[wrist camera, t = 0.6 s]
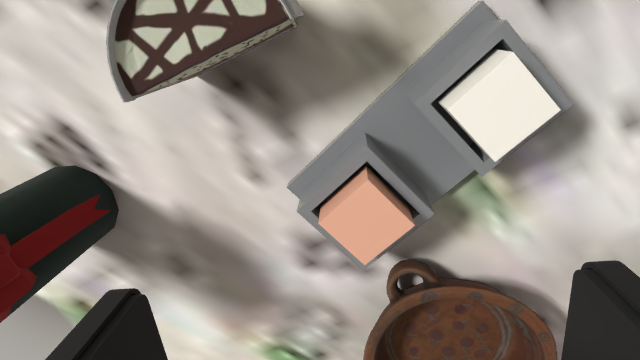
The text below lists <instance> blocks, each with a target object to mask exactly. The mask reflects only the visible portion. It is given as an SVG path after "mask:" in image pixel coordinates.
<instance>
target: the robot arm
mask: <svg viewBox="0 0 640 360" xmlns="http://www.w3.org/2000/svg"><path fill="white" fill-rule="evenodd" d="M45 360H168V359H167V356H166V353H165V350H164V347H163V344H162V341H161V338H160V335H159V332H158V329H157V325H156V322H155V319H154V316H153V313H152V310H151V307H150V304H149V301H148V299H147V297H146V296H145V295H143V294H141V293H140V291H139V290H138V289H134V288H133V289H116V290H110V291H108V292H107V293H105V294H104V296H103V297H102V298H101V299H100V300H99V301H98V302H97V303H96V304H95V305H94V307H93V308H92V309H91V310H90V311H89V312H88V313H87V314H86V315H85V317H84V318H83V319H82V320H81V321H80V322H79V323H78V324H77V325H76V326H75V328H74V329H73V330H72V331H71V332H70V333H69V334H68V335H67V336H66V337H65V339H64V340H63V341H62V342H61V343H60V344H59V345H58V347H56V348H55V350H54V351H53V352H52V353H51V354H50V355H49V356H48V357H47V358H46V359H45ZM561 360H640V278H639V277H638V276H637V275H636V274H635V273H634V272H632V271H631V270H630V269H629V268H628V267H627V266H625V265H624V264H623V263H621V262H620V261H599V262H587V263H584V264H583V266H582V268H581V270H577V271H575V273H574V276H573V281H572V288H571V295H570V303H569V310H568V317H567V324H566V331H565V338H564V345H563V352H562V359H561Z"/></svg>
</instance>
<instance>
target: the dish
mask: <svg viewBox="0 0 640 360" xmlns="http://www.w3.org/2000/svg"><path fill="white" fill-rule="evenodd" d="M409 273H411V274H416V275H418V276H420V277H421V278H422V279H423V283H421V284H418V285H416V286H413V287H411V288H408V289H406V290H401V289H400V288H399V287H398V286H397V282H398V278H400V277H401V276H402V275H405V274H409ZM387 294H388V297H389V300H390V304H389V305H388V306H387V307H386V308H385V310H384V311H383V313H382V314H381V316H380V317H379V319H378V321H377V323H376V325H375V326H374V328H373V330H372V331H371V333H370V335H369V337H368V341H367V343H366V346H365V351H364V358H363V360H557V352H556V344H555V340H554V337H553V335H552V333H551V331H550V329H549V328H548V326H547V325H546V324H545V322H544V321H543V320H542V319H541V318H540V317H539V316H538V315H537V314H536V313H535V312H534V311H532V310H531V309H529V308H528V307H527V306H525V305H524V304H522V303H521V302H519V301H517V300H515V299H514V298H511V297H509V296H506V295H504V294H503V293H501V292H499V291H498V290H496V289H494V288H491V287H489V286H486V285H483V284H480V283H476V282H471V281H466V280H457V279H443V278H441V277H439V276H438V275H437V274H436V273H435V272H434V271H433V270H432V269H431V268H430V267H429V266H427V265H426V264H424V263H423V262H420V261H417V260H403V261H400V262H398V263H397V264H396V265H394V267H393V268H392V269H391V271H390V273H389V276H388V281H387Z"/></svg>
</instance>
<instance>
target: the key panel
mask: <svg viewBox="0 0 640 360" xmlns="http://www.w3.org/2000/svg"><path fill="white" fill-rule="evenodd" d="M495 49H497V50H504V51H511V52H514V53H515V55H516V56H517V57H518V58H519V60H520V61H521V62H522V63H523V64H524V66H525V67H526V68H527V69H528V70H529V72H530V73H531V74H532V75H533V77H534V78H535V79H536V80H537V81H538V83H539V84H540V85H541V86H542V88H543V89H544V90H545V91H546V92H547V94H548V95H549V96H550V97H551V99H552V100H553V101H554V102H555V103H556V105H557V106H558V107H559V108H560V109H561V110H560V111H559V112H558V113H557V114H555V115H554V116H553V117H551V118H550V119H549V120H548V121H546V122H545V123H544V124H543V125H541V126H540V127H539V128H538V129H536V130H535V131H534V132H533V133H531V134H530V135H529V136H527V137H526V138H525V139H524V140H522V141H521V142H520V143H519V144H517V145H516V146H515V147H514V148H512V149H511V150H510V151H509V152H507V153H506V154H505V155H504V156H502V157H501V158H500V159H498V160H497V161H496V162H494V161H493V160H492V159H491V158H490V157H489V156H488V155H487V154H486V153H485V152H483V151H482V150H481V149H480V148H479V147H478V145H477V144H476V143H475V142H474V141H473V140H472V139H471V138H470V137H469V136H468V134H467V133H466V132H465V131H464V130H463V129H462V128H461V127H460V126H459V125H458V123H457V122H456V121H455V120H454V119H453V118H452V117H451V116H450V115H449V114H448V113H447V111H446V110H445V109H444V108H443V107H442V106H441V105H440V104H439V103H438V102H437V101H439V100H440V99H441V98H442V97H443V96H444V95H445V94H446V93H447V92H449V91H450V90H451V89H452V88H453V87H454V86H455V85H456V84H457V83H459V82H460V81H461V80H462V79H463V78H464V77H465V76H466V75H467V74H469V73H470V72H471V71H472V70H473V69H474V68H475V67H476V66H477V65H479V64H480V63H481V62H482V61H483V60H484V59H485V58H486V57H488V56H489V55H490V54H491V53H492V52H493V51H494V50H495ZM572 105H574V104H573V102H572V101H571V100H570V99H569V97H568V96H567V95H566V94H565V92H564V91H563V90H562V89H561V87H560V86H559V85H558V84H557V83H556V81H555V80H554V79H553V78H552V76H551V75H550V74H549V73H548V71H547V70H546V69H545V68H544V66H543V65H542V64H541V63H540V61H539V60H538V59H537V58H536V56H535V55H534V54H533V53H532V52H531V50H530V49H529V48H528V47H527V45H526V44H525V43H524V42H523V40H522V39H521V38H520V37H519V35H518V34H517V33H516V32H515V30H514V29H513V28H512V27H511V26H510V24H509V23H508V22H507V21H506V20H498V19H497V18H496V16H495V15H494V14H493V13H492V11H491V10H490V9H489V8H488V6H487V5H486V4H485V3H484V2H483V1H478V2H477V3H476V4H475V5H474V6H473V7H472V8H471V9H470V10H469V11H468V12H467V13H466V14H465V15H464V16H463V17H461V18H460V19H459V20H458V21H457V22H456V23H455V24H454V25H453V26H452V27H451V28H450V29H449V30H448V31H447V32H446V33H445V34H444V35H443V36H442V37H441V38H440V39H438V40H437V41H436V42H435V43H434V44H433V45H432V46H431V47H430V48H429V49H428V50H427V51H426V52H425V53H424V54H423V55H422V56H421V57H420V58H419V59H418V60H417V61H416V62H414V63H413V64H412V65H411V66H410V67H409V68H408V69H407V70H406V71H405V72H404V73H403V74H402V75H401V76H400V77H399V78H398V79H397V80H396V81H395V82H394V83H393V84H392V85H390V86H389V87H388V88H387V89H386V90H385V91H384V92H383V93H382V94H381V95H380V96H379V97H378V98H377V99H376V100H375V101H374V102H373V103H372V104H371V105H370V106H369V107H368V108H366V109H365V110H364V111H363V112H362V113H361V114H360V115H359V116H358V117H357V118H356V119H355V120H354V121H353V122H352V123H351V124H350V125H349V126H348V127H347V128H346V129H345V130H344V131H342V132H341V133H340V134H339V135H338V136H337V137H336V138H335V139H334V140H333V141H332V142H331V143H330V144H329V145H328V146H327V147H326V148H325V149H324V150H323V151H322V152H321V153H320V154H318V155H317V156H316V157H315V158H314V159H313V160H312V161H311V162H310V163H309V164H308V165H307V166H306V167H305V168H304V169H303V170H302V171H301V172H300V173H299V174H298V175H297V176H296V177H294V178H293V179H292V180H291V181H290V182H289V183H288V186H287V188H288V189H289V190H290V191H291V192H292V193H294V194H295V195H296V196H297V197H298V198H299V199H300V201H299V205H298V208H297V212H298V213H299V214H300V215H301V216H303V217H304V218H305V219H306V220H307V221H308V222H309V223H310V224H312V225H313V226H314V227H315V228H316V229H317V230H318V231H319V232H320V233H322V234H323V235H324V236H325V237H326V238H327V239H328V240H329V241H330V242H332V243H333V244H334V245H335V246H336V247H337V248H338V249H339V250H341V251H342V252H343V253H344V254H345V255H346V256H347V257H348V258H349V259H351V260H352V261H353V262H354V263H355V264H356V265H357V266H358V267H359V268H361V269H362V270H364V269H366V268H367V267H368V266H369V265H371V264H372V263H373V262H374V261H376V260H377V259H378V258H380V257H381V256H382V255H383V254H385V253H386V252H387V251H388V250H390V249H391V248H392V247H393V246H395V245H396V244H397V243H399V242H400V241H401V240H402V239H404V238H405V237H406V236H407V235H409V234H410V233H411V232H412V231H414V230H415V229H416V228H418V227H419V226H420V225H421V224H423V223H424V222H425V221H426V220H428V219H429V218H430V217H431V216H433V215H434V214H435V213H434V211H433V209H432V207H431V204H433V203H434V202H435V201H436V200H438V199H439V198H440V197H441V196H443V195H444V194H445V193H446V192H448V191H449V190H450V189H451V188H453V187H454V186H455V185H456V184H458V183H459V182H460V181H461V180H463V179H464V178H465V177H466V176H468V175H469V174H470V173H471V172H473V171H474V170H476V171H477V172H478V173H479V174H480V176H481V177H482V176H483V175H485V174H486V173H487V172H489V171H490V170H491V169H492V168H494V167H495V166H496V165H497V164H499V163H500V162H501V161H502V160H504V159H505V158H506V157H508V156H509V155H510V154H511V153H513V152H514V151H515V150H516V149H518V148H519V147H520V146H522V145H523V144H524V143H525V142H527V141H528V140H529V139H530V138H532V137H533V136H534V135H535V134H537V133H538V132H539V131H541V130H542V129H543V128H544V127H546V126H547V125H548V124H549V123H551V122H552V121H553V120H554V119H556V118H557V117H558V116H560V115H561V114H562V113H563V112H565V111H566V110H567V109H568V108H570V107H571V106H572ZM365 166H367V167H368V168H369V169H370V170H371V171H372V172H373V173H374V174H375V175H376V176H377V177H378V178H379V179H380V180H381V181H382V182H383V183H384V184H385V185H386V186H387V187H388V188H389V189H390V190H391V191H392V192H393V193H394V194H395V195H396V196H397V197H398V198H399V199H400V200H401V201H402V202H404V203H405V204H406V205H407V206H408V207H409V210H410V212H411V215H412V218H413V221H414V224H415V226H414V227H413V228H411V229H410V230H409V231H408V232H406V233H405V234H404V235H403V236H401V237H400V238H399V239H397V240H396V241H395V242H394V243H392V244H391V245H390V246H389V247H387V248H386V249H385V250H384V251H382V252H381V253H380V254H379V255H377V256H376V257H375V258H373V259H372V260H371V261H370V262H368V263H367V264H366V265H364V264H363V263H361V262H360V261H359V260H358V259H357V258H356V257H355V256H354V255H353V254H351V253H350V252H349V251H348V250H347V249H346V248H345V247H344V246H343V245H341V244H340V243H339V242H338V241H337V240H336V239H335V238H334V237H333V236H331V235H330V234H329V233H328V232H327V231H326V230H325V229H324V228H323V227H322V226H320V225H319V224H318V222H319V215H320V208H321V205H323V204H324V203H325V202H326V201H327V200H328V199H329V198H330V197H332V196H333V195H334V194H335V193H336V192H337V191H338V190H339V189H340V188H342V187H343V186H344V185H345V184H346V183H347V182H348V181H349V180H350V179H352V178H353V177H354V176H355V175H356V174H357V173H358V172H359V171H360V170H362V169H363V168H364V167H365Z"/></svg>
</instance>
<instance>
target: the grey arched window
mask: <svg viewBox="0 0 640 360" xmlns="http://www.w3.org/2000/svg"><path fill="white" fill-rule="evenodd" d="M303 15H304V13H303V11H302V9H301V8H300V6H299V4H298V2H297V0H115V3H114V5H113V8H112V10H111V13H110V18H109V22H108V26H107V40H106V45H107V58H108V63H109V67H110V72H111V76H112V78H113V81H114V84H115V86H116V89H117V91H118V93H119V95H120V97H121V99H122V101H123V102H129V101H133V100H135V98H138V97H141V96H144V95H146V94H149V93H152V92H155V91H158V90H160V89H163V88H166V87H169V86H171V85H174V84H177V83H180V82H182V81H185V80H188V79H191V78H194V77H196V76H198V75H200V74H203V73H205V72H207V71H209V70H211V69H213V68H215V67H217V66H219V65H221V64H223V63H225V62H227V61H229V60H231V59H233V58H235V57H237V56H239V55H241V54H243V53H245V52H247V51H249V50H251V49H253V48H255V47H257V46H259V45H261V44H263V43H265V42H267V41H269V40H271V39H273V38H275V37H277V36H279V35H281V34H283V33H285V32H287V31H289V30H291V29H293V28H295V27H297V25H296V23H295V21H294V18H296V17H300V16H303Z"/></svg>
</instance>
